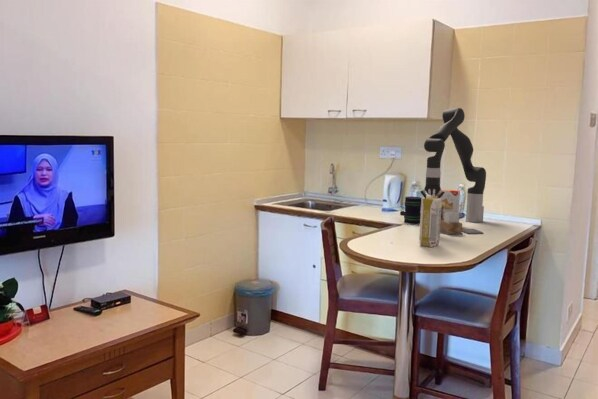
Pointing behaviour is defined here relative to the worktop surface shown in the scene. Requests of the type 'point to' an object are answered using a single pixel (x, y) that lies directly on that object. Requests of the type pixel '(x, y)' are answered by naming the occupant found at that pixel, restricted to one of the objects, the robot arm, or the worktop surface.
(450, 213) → the cap
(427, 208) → the juice carton
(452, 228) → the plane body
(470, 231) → the mat
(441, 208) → the lever
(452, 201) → the cracker box
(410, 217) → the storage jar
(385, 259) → the worktop surface
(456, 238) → the worktop surface
